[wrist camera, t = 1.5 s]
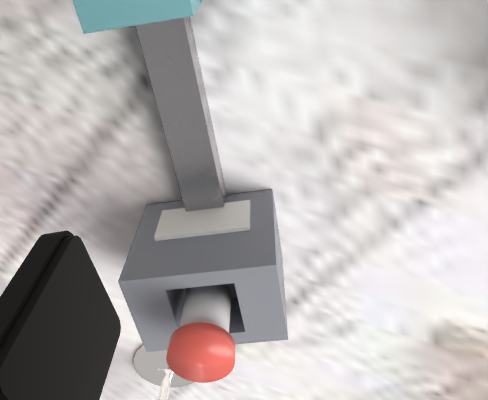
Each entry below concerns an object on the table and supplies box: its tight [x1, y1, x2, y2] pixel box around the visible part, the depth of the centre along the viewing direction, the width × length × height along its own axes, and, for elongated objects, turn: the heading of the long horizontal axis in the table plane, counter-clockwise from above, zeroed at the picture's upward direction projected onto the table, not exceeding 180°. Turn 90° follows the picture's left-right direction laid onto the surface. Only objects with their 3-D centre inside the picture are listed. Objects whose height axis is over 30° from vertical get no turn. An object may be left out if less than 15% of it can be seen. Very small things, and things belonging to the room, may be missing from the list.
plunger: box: [166, 284, 235, 383], centre depth 27 cm, size 4×4×5 cm
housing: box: [118, 189, 288, 352], centre depth 31 cm, size 6×9×8 cm
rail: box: [136, 17, 227, 212], centre depth 26 cm, size 21×5×3 cm, turn 9°
